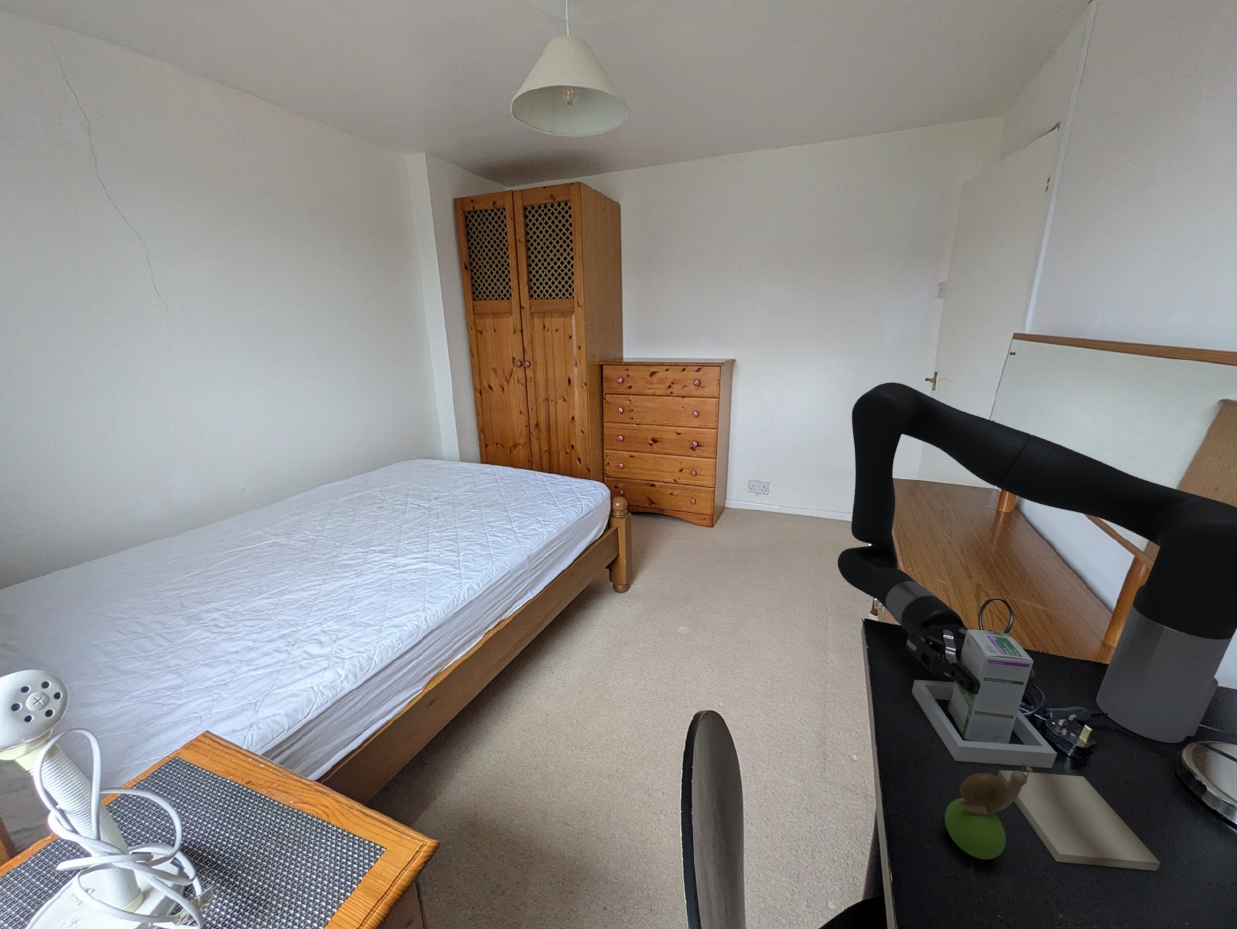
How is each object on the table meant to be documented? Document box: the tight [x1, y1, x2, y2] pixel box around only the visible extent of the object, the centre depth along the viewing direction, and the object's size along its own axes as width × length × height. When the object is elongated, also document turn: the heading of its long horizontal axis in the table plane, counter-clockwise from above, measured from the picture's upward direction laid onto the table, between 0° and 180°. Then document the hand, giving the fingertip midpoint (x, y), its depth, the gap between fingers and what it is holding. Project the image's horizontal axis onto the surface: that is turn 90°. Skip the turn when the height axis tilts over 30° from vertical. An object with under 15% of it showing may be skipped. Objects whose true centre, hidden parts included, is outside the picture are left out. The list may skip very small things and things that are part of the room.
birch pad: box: [996, 769, 1161, 872], centre depth 57 cm, size 10×10×1 cm
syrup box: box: [946, 629, 1034, 744], centre depth 67 cm, size 6×6×14 cm
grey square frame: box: [911, 679, 1058, 769], centre depth 69 cm, size 12×12×2 cm
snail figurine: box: [944, 761, 1033, 860], centre depth 52 cm, size 5×6×12 cm
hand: (1003, 688), depth 64 cm, fingers closed on syrup box, 7 cm apart
